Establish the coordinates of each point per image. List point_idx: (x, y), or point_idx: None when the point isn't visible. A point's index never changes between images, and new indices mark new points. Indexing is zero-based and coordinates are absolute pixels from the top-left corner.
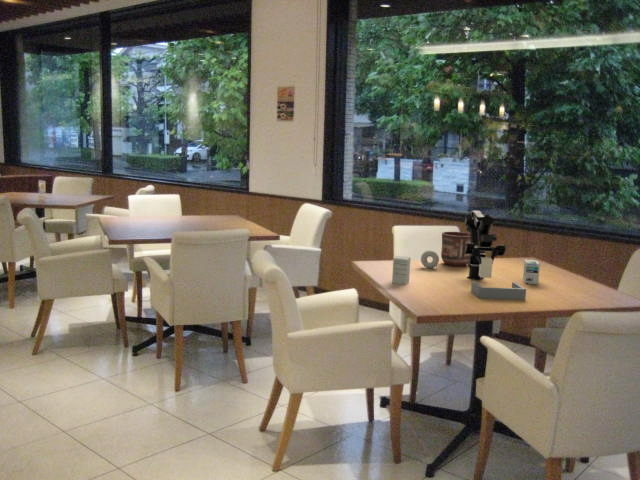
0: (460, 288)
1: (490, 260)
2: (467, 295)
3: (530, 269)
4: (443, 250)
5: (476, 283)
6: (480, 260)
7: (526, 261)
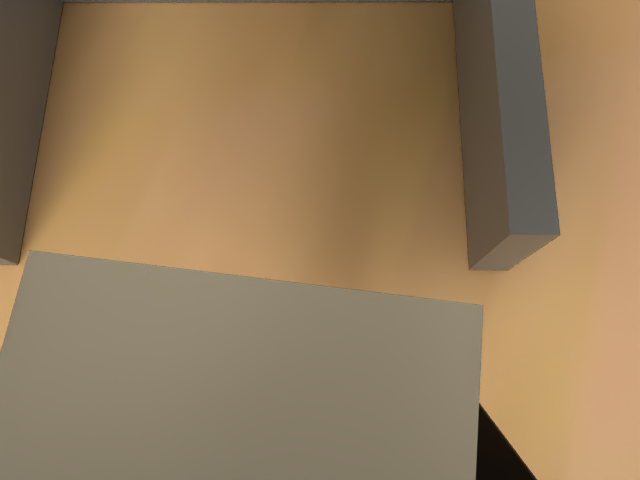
0: (620, 404)
1: (134, 268)
2: (586, 79)
3: None
4: None
5: (522, 80)
6: (490, 446)
7: None
